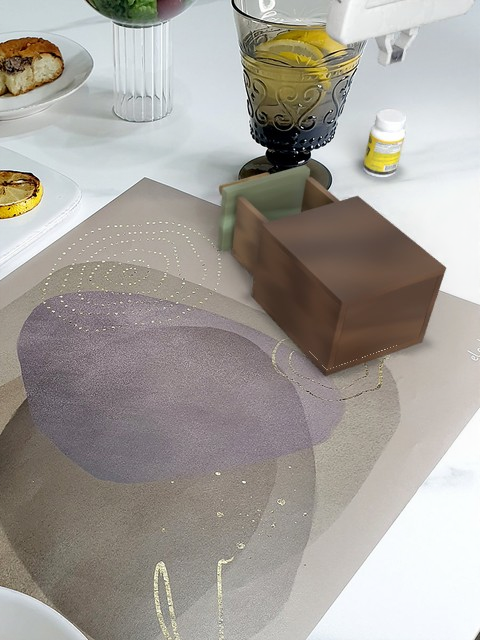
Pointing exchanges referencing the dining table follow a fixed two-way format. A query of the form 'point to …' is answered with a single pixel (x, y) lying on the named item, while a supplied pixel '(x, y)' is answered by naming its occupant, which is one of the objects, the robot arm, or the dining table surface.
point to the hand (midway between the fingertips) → (390, 62)
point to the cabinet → (345, 283)
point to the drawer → (264, 208)
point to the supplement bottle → (385, 143)
